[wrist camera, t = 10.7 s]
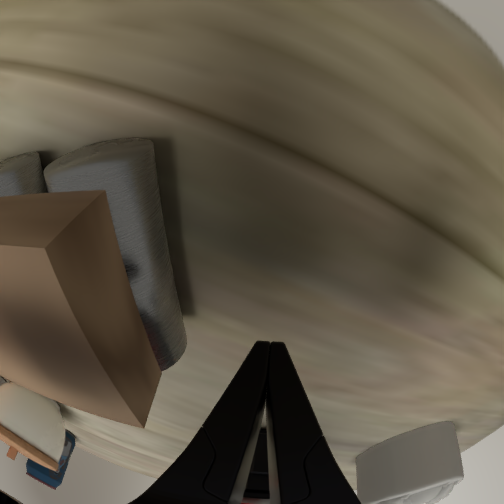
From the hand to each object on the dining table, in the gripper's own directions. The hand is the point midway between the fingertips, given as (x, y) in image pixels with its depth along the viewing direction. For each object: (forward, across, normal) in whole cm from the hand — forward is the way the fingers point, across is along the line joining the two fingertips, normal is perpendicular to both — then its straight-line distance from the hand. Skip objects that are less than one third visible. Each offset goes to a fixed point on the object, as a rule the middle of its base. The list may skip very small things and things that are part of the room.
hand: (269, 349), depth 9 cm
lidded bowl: (+6, +30, +26) cm, 40 cm away
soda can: (+6, +35, +41) cm, 54 cm away
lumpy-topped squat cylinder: (+6, -18, +27) cm, 33 cm away
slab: (+1, +11, 0) cm, 11 cm away
